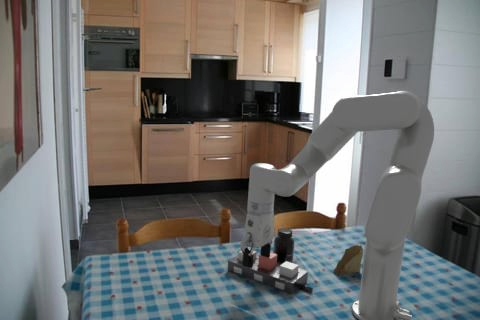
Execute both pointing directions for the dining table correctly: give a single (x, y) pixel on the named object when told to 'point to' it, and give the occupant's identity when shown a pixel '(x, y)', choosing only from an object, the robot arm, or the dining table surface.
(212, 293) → the dining table surface
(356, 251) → the rock
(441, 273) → the dining table surface
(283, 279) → the push button control box
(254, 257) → the button
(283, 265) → the button
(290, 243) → the supplement bottle
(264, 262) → the button
